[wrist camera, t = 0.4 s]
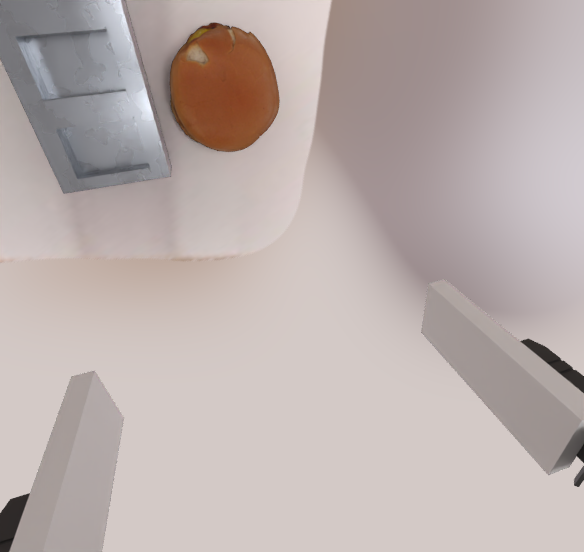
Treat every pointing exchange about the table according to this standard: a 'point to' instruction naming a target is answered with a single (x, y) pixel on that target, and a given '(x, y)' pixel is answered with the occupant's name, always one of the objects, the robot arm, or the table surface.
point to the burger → (223, 88)
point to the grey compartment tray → (84, 90)
